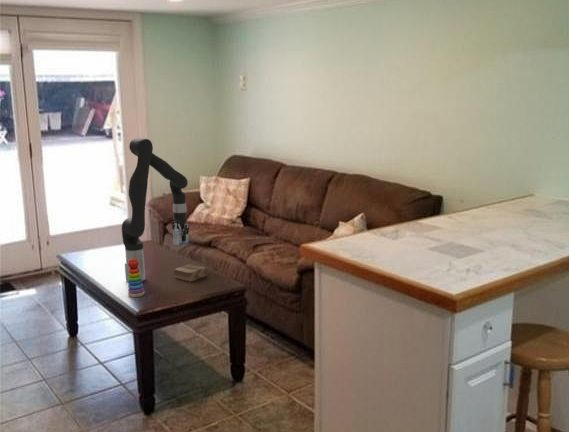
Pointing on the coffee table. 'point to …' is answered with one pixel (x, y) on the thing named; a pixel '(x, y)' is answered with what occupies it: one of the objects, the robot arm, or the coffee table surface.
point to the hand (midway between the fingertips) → (180, 240)
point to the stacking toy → (135, 279)
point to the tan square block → (190, 272)
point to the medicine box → (179, 237)
